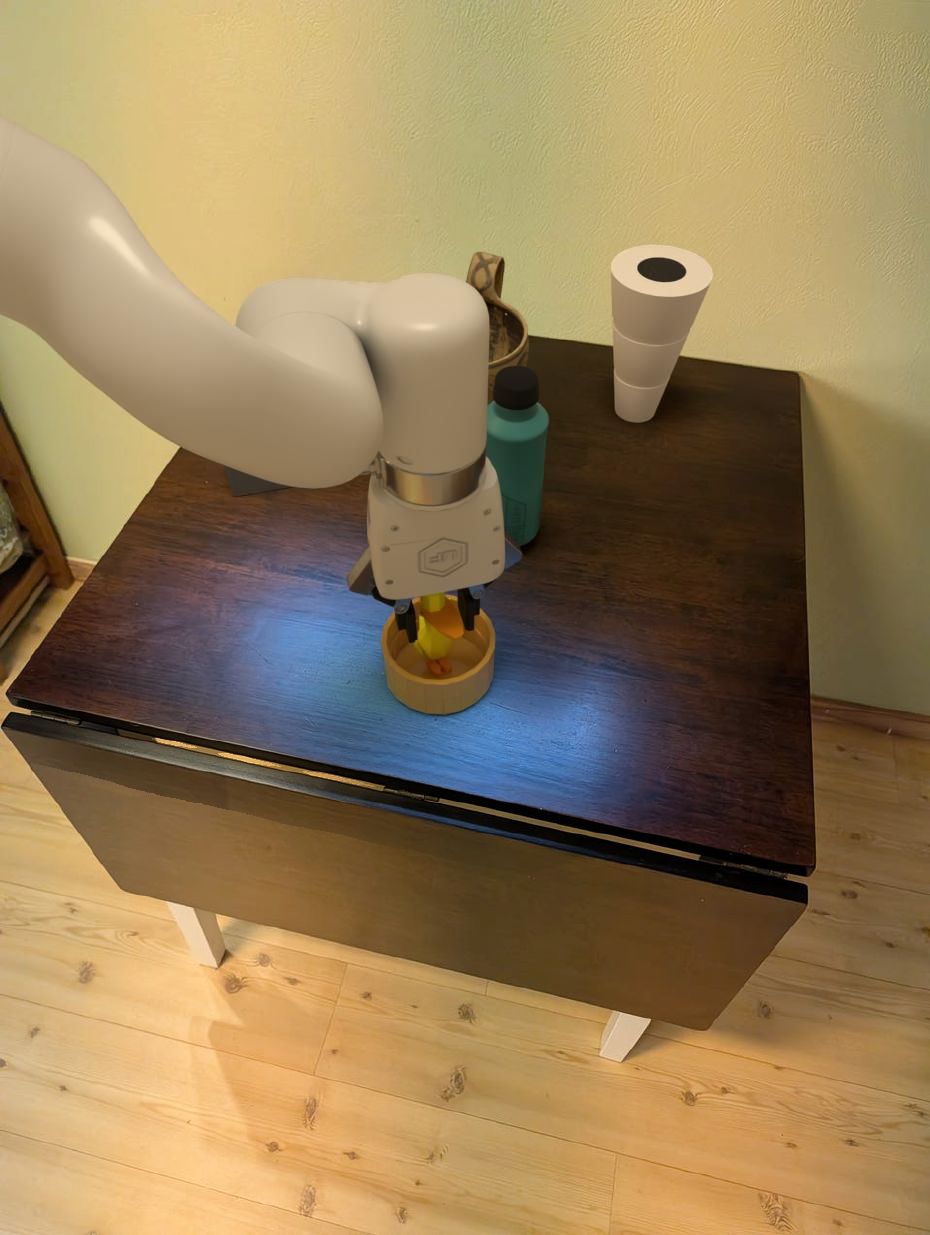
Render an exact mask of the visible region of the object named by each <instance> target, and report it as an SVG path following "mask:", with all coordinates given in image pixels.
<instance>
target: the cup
mask: <svg viewBox="0 0 930 1235" xmlns="http://www.w3.org/2000/svg"><path fill="white" fill-rule="evenodd" d="M713 278H714V271H713V268H712V266H711V265H710V263H709V262H708V261H707V260H706V259H704V258H703V257H702V256H700V255H698V254H697V253H695V252H693V251H690V250H689V249H685V248H683V247H677V246H673V245H667V244H641V245H635V246H632V247H629V248H627V249H624V250H622V251H621V252H619V253H617V254H616V255H615V256H614V257H613V259H612V261H611V263H610V290H611V291H610V293H611V317H612V349H613V350H612V351H613V352H612V353H613V366H614V368H613V387H614V388H613V392H614V393H613V395H614V412H615V414H616V415H617V417H619V418H620V419H622V420H624V421H626V422H629V423H645V422H648V421H650V420H651V419H652V418H654V416H655V414H656V412H657V409H658V407H659V405H660V402H661V400H662V397H663V395H664V393H665V390H666V388H667V386H668V383H669V381H670V378H671V375H672V373H673V371H674V368H675V366H676V365H677V362H678V360H679V357H680V355H681V354H682V353H681V352H682V350H683V348H684V346H685V343H686V341H687V340H688V337H689V335H690V332H691V328H693V325H694V323H695V322H696V318H697V316H698V314H699V311H700V309H701V306H702V305H703V302H704V300H705V297H706V296H707V292H708V290H709V288H710V285H711V284H712V281H713Z"/></svg>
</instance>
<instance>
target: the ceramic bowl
mask: <svg viewBox="0 0 930 1235" xmlns="http://www.w3.org/2000/svg"><path fill="white" fill-rule="evenodd" d="M505 267H506V263H505V258H504V256H500V255H496V254H494V253H493V254H492V253H489V252H486V251H485V252H484V251H475V252H474V253H473V255H472V257H471V260H470V263H469V266H468V271H467V276H466V279H465V282H466V283H468V284H470V285H471V286H472V287H474V288H475V289H476V290H477V291H478V292H479V294H480V295H481V296H482V298H483V300H484V302H485V304H486V306H487V309H488V314H489V330H490V332H489V365H488V402H487V406H488V405H489V404H490V403H491V402H493V401H494V399H493V388H494V381H495V376H496V374H497V373H498V372H499V371H500V370H501V369H503V368H505V367H509V366H524V367H527V368H528V362H529V355H530V354H529V353H530V351H529V350H530V341H529V328H528V323H527V321H526V319H525V317H524V316H523V315H522V314H521V312H520V311H518V310H517V309H516V308H515V307H514V306H512V305H511V304H508V303H507V302H504V301H503V300H502V294H503V284H504V276H505V269H506V268H505Z"/></svg>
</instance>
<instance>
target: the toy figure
mask: <svg viewBox="0 0 930 1235" xmlns="http://www.w3.org/2000/svg"><path fill="white" fill-rule="evenodd" d="M445 595H446V592H441V593H436V594H430V595H425V596H419V597H420V598H418V597H417V598H418V602H419V607H420V611H421V614H422V615H423V617H422V616H420V615H419V626H420V630H419V631H418V641H417V640H415V642H413V643H414V647H415V649H416V650H417V652H418V653H419V654H421V655H422V656H423V655H425V656H427V657H429V661H427V665H428V668H429V670H430V672H431V673H432V674H433V675H434V676H436V677H437V678H438V677H440V676H442V672H441V669H442V670H443V671H445V672H447V673H448V672H450V671H451V670H452V668H451V664H450V661H449V660H448V659H446V658H444V656H445V655H446V654H447V653H448V651H449V650H450V649H451V640H453V639H460V638H461V637H462V636H463V634H464V632H463V623H462V620H461V617H460V615H459V613H458V612H457V610H456V609H455V607H454V605H453V604H452V603H451V602H450V600H449V599H448V598H447V597H446V596H445ZM434 660H436V662H437V663H436V662H435V661H434Z"/></svg>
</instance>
